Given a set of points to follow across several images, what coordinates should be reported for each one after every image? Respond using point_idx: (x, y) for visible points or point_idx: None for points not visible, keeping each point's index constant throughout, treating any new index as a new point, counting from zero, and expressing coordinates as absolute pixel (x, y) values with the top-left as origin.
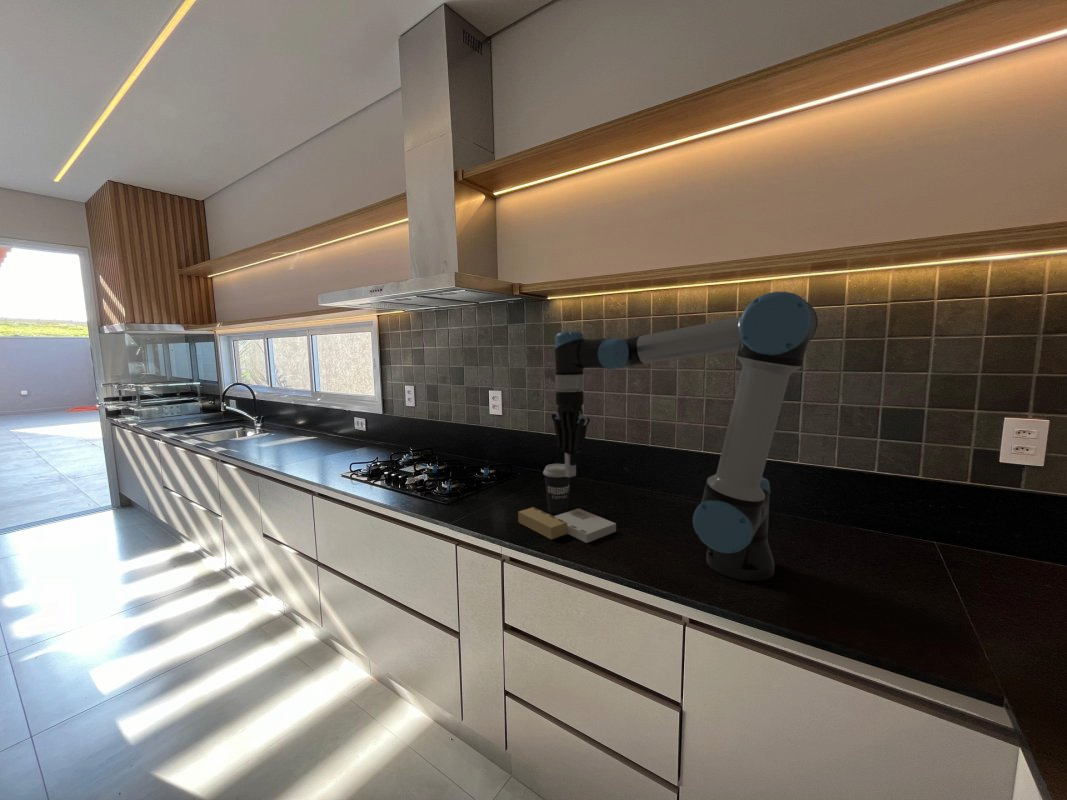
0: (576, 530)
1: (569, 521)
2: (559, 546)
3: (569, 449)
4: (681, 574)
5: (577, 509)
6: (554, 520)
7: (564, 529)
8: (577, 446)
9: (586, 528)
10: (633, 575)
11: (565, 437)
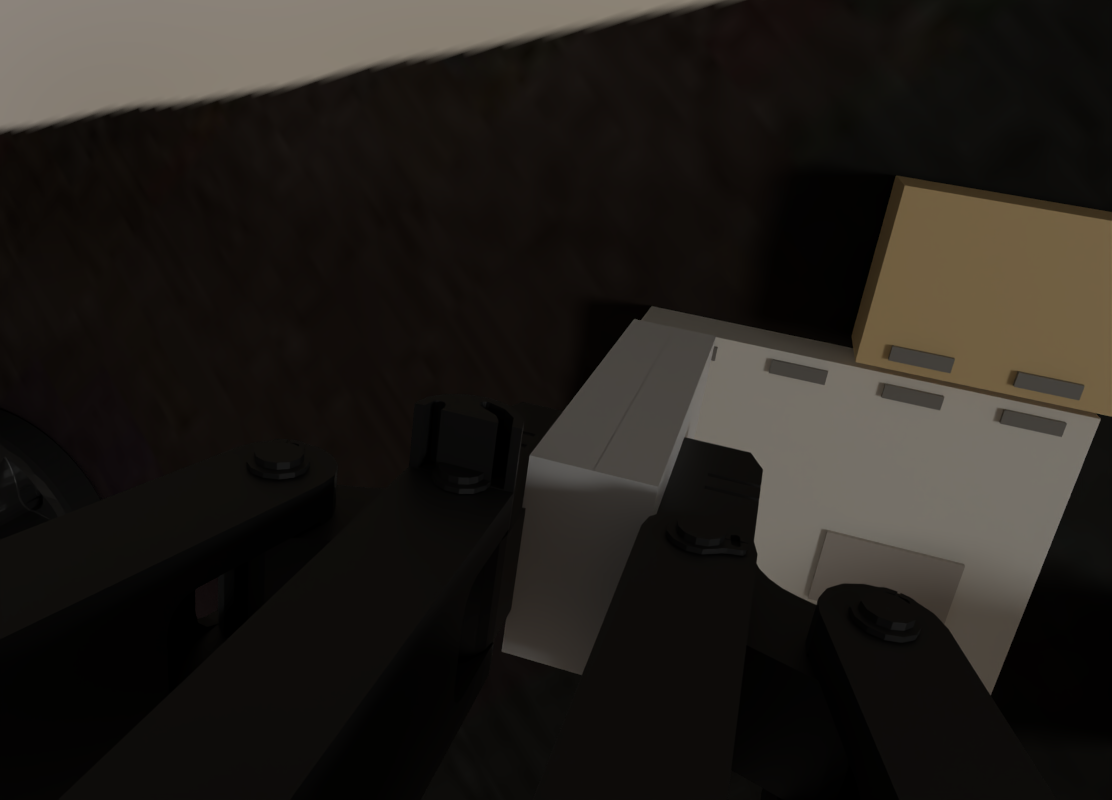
0: (752, 343)
1: (894, 443)
2: (776, 133)
3: (467, 510)
4: (95, 302)
5: (982, 679)
6: (976, 332)
7: (859, 321)
8: (125, 505)
9: (703, 407)
10: (222, 129)
11: (546, 785)
